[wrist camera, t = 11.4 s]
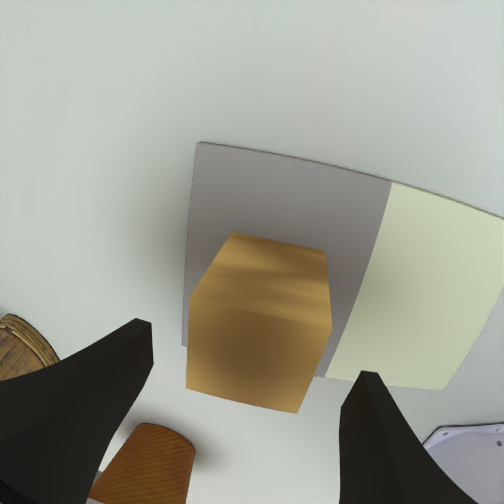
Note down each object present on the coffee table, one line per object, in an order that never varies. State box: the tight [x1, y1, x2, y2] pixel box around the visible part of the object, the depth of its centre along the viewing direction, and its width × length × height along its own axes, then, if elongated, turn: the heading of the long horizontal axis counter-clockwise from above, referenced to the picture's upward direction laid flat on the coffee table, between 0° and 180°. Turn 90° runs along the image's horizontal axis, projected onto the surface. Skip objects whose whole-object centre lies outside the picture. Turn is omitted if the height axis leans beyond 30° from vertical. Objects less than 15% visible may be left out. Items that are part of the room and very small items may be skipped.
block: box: [186, 231, 332, 414], centre depth 13 cm, size 4×4×6 cm
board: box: [182, 142, 504, 390], centre depth 16 cm, size 18×12×1 cm, turn 81°
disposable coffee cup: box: [86, 424, 195, 504], centre depth 20 cm, size 10×10×12 cm
